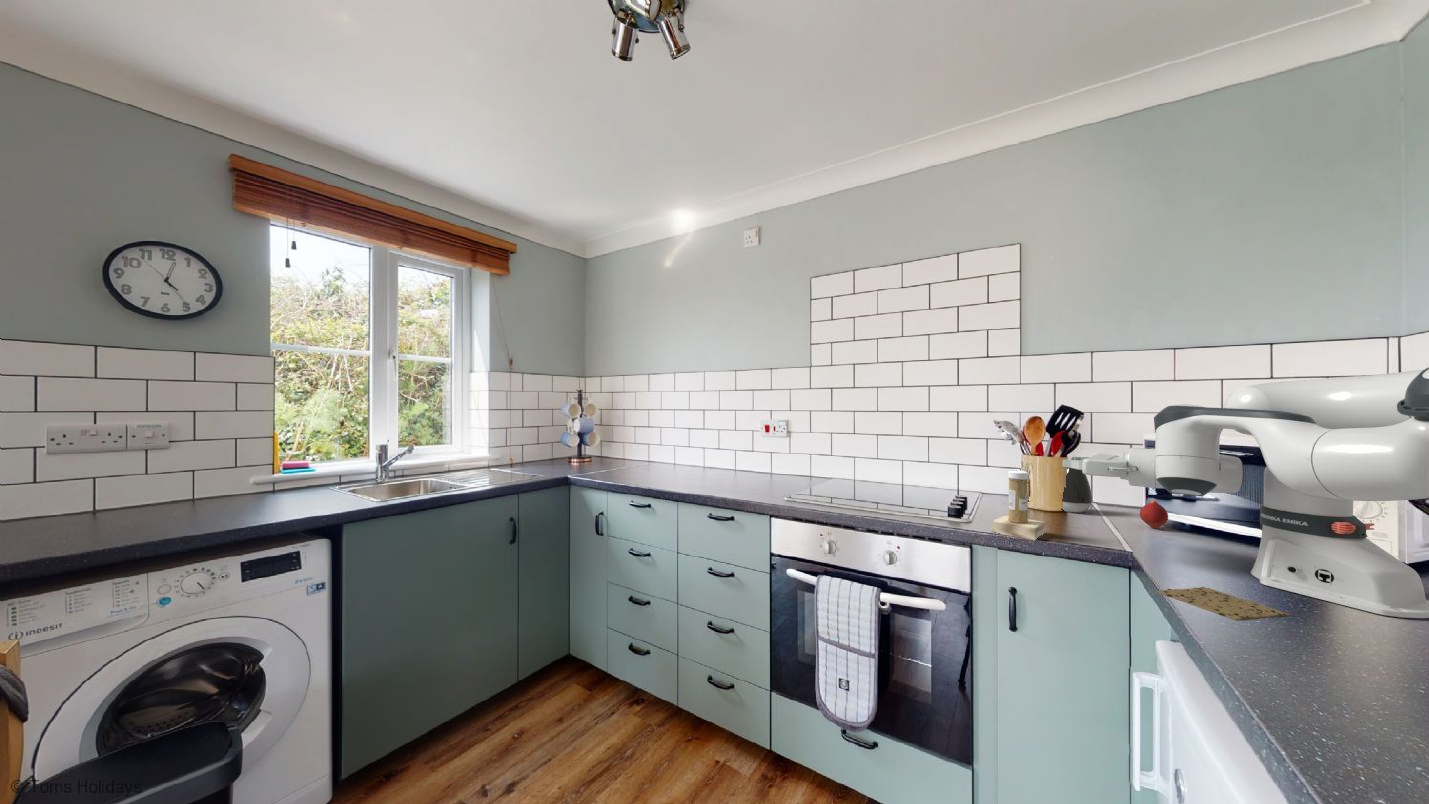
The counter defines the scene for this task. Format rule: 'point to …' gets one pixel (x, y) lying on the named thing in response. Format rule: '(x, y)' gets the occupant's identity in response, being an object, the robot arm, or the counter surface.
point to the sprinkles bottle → (1018, 496)
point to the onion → (1154, 514)
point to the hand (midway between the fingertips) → (1067, 461)
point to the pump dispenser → (1076, 492)
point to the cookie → (1222, 603)
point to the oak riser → (1019, 528)
